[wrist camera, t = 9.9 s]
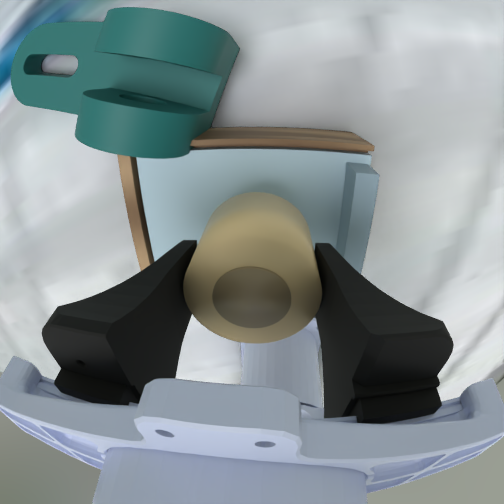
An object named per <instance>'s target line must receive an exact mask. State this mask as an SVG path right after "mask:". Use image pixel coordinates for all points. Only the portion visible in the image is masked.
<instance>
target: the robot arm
mask: <svg viewBox="0 0 504 504" xmlns="http://www.w3.org/2000/svg"><path fill="white" fill-rule="evenodd" d="M196 247H197V240H182V241H181V242H179V243H178V244H177V245H175V246H174V247H173V248H172V249H170V250H169V251H168V252H166V253H165V254H164V255H163V256H161V257H160V258H159V259H157V260H156V261H155V262H153V263H152V264H150V265H149V266H148V267H146V268H145V269H143V270H142V271H141V272H139V273H138V274H136V275H134V276H133V277H131V278H129V279H128V280H126V281H124V282H122V283H120V284H118V285H116V286H114V287H112V288H110V289H108V290H106V291H104V292H102V293H99V294H97V295H94V296H92V297H89V298H86V299H83V300H80V301H77V302H73V303H70V304H66V305H62V306H58V307H57V308H56V310H55V311H54V313H53V314H52V316H51V317H50V318H49V320H48V321H47V323H46V324H45V326H44V327H43V329H42V336H43V340H44V343H45V344H46V346H47V348H48V350H49V351H50V353H51V354H52V356H53V357H54V358H55V360H56V361H57V363H58V364H59V366H60V367H61V370H60V372H59V374H58V376H57V378H56V379H55V380H52V379H49V378H47V377H44V376H42V375H41V373H40V372H39V370H38V369H37V368H36V367H35V366H34V365H33V364H32V363H31V362H29V361H26V360H24V359H21V358H19V357H16V356H13V357H12V359H11V361H10V362H9V364H8V366H7V367H6V369H5V371H4V372H3V374H2V376H1V377H0V410H1V411H2V412H3V413H4V414H5V415H6V416H7V417H8V418H9V419H10V420H11V421H13V422H14V423H15V424H16V425H17V426H18V427H20V428H21V429H22V430H23V431H25V432H27V433H29V434H30V435H32V436H34V437H36V438H38V439H39V440H41V441H43V442H45V443H47V444H48V445H50V446H52V447H54V448H56V449H58V450H60V451H62V452H64V453H66V454H68V455H70V456H72V457H74V458H76V459H79V460H80V461H82V462H85V463H87V464H89V465H91V466H94V467H96V468H99V469H101V473H100V477H99V480H98V484H97V487H96V491H95V494H94V498H93V502H92V504H367V493H370V492H375V491H379V490H383V489H387V488H391V487H395V486H398V485H401V484H405V483H408V482H411V481H414V480H417V479H420V478H423V477H426V476H429V475H432V474H434V473H437V472H440V471H442V470H445V469H448V468H451V467H453V466H455V465H458V464H460V463H463V462H465V461H468V460H470V459H472V458H474V457H476V456H478V455H479V454H480V453H482V452H483V451H485V450H486V449H488V448H489V447H490V446H492V445H493V444H494V443H496V442H497V441H498V440H499V439H501V438H502V437H504V403H503V401H502V398H501V396H500V393H499V391H498V389H497V386H496V384H495V382H494V379H493V378H490V379H487V380H484V381H480V382H477V383H474V384H472V385H470V386H469V387H467V388H466V389H465V390H464V391H463V393H462V394H461V396H460V397H458V398H454V399H450V400H446V401H442V402H441V400H440V397H439V394H438V391H437V388H436V387H438V386H439V384H440V382H439V379H438V377H437V375H438V373H439V372H440V371H441V369H442V368H443V366H444V365H445V363H446V362H447V360H448V359H449V357H450V355H451V353H452V350H453V341H452V338H451V336H450V334H449V332H448V330H447V328H446V326H445V324H444V323H443V321H441V320H438V319H435V318H433V317H430V316H427V315H425V314H422V313H420V312H418V311H416V310H414V309H412V308H410V307H408V306H406V305H404V304H402V303H400V302H398V301H397V300H395V299H394V298H392V297H390V296H389V295H387V294H386V293H384V292H383V291H381V290H380V289H378V288H377V287H376V286H374V285H373V284H372V283H370V282H369V281H368V280H367V279H366V278H364V277H363V276H362V275H361V274H360V273H359V272H358V271H357V270H355V269H354V268H353V267H352V266H351V265H350V264H349V263H348V262H347V261H346V260H345V259H344V258H343V257H342V256H341V255H340V254H339V252H338V251H337V250H336V249H335V248H334V247H333V246H332V245H331V244H330V243H315V250H314V253H315V257H316V262H317V267H318V271H319V276H320V281H321V286H322V299H321V303H320V307H319V309H318V311H317V313H316V315H315V317H316V318H313V319H312V320H311V322H310V323H309V324H308V325H307V326H306V327H304V328H303V329H302V330H300V331H299V332H297V333H296V334H294V335H292V336H290V337H288V338H285V339H282V340H279V341H275V342H269V343H260V344H255V343H242V342H241V357H242V376H241V385H235V384H222V383H210V382H200V381H191V380H182V379H175V377H176V371H177V366H178V360H179V355H180V351H181V346H182V342H183V338H184V335H185V332H186V329H187V326H188V324H189V321H190V318H191V315H192V313H191V311H190V309H189V308H188V306H187V303H186V301H185V297H184V291H183V283H184V277H185V274H186V271H187V269H188V266H189V264H190V262H191V259H192V257H193V254H194V252H195V250H196ZM320 344H321V348H322V361H323V380H324V408H323V403H322V392H321V382H320V373H319V363H318V352H319V348H320Z"/></svg>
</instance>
